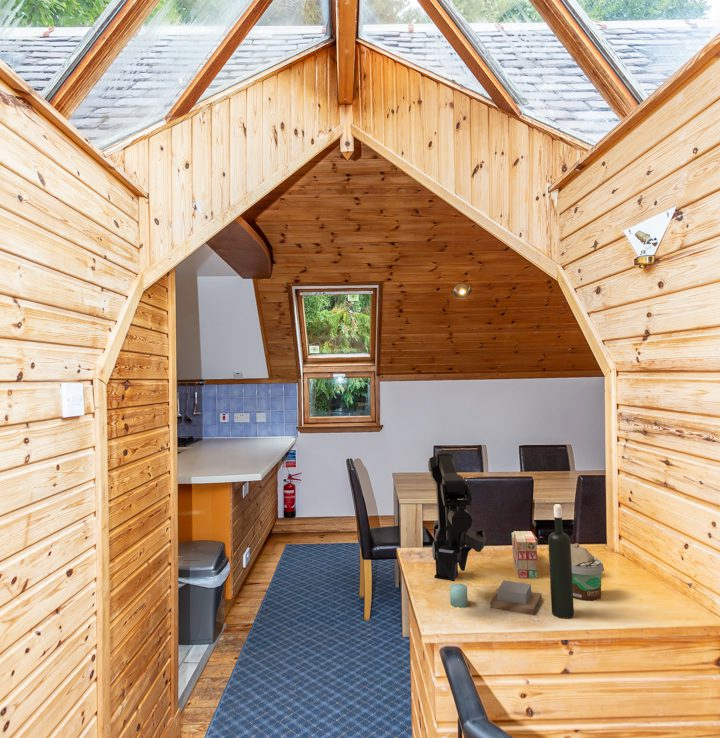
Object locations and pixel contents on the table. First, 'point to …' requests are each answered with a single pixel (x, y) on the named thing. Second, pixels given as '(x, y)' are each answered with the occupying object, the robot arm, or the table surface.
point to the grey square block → (514, 592)
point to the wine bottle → (560, 569)
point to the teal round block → (458, 595)
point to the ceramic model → (580, 555)
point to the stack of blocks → (525, 554)
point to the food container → (587, 580)
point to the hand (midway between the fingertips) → (457, 575)
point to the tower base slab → (518, 608)
